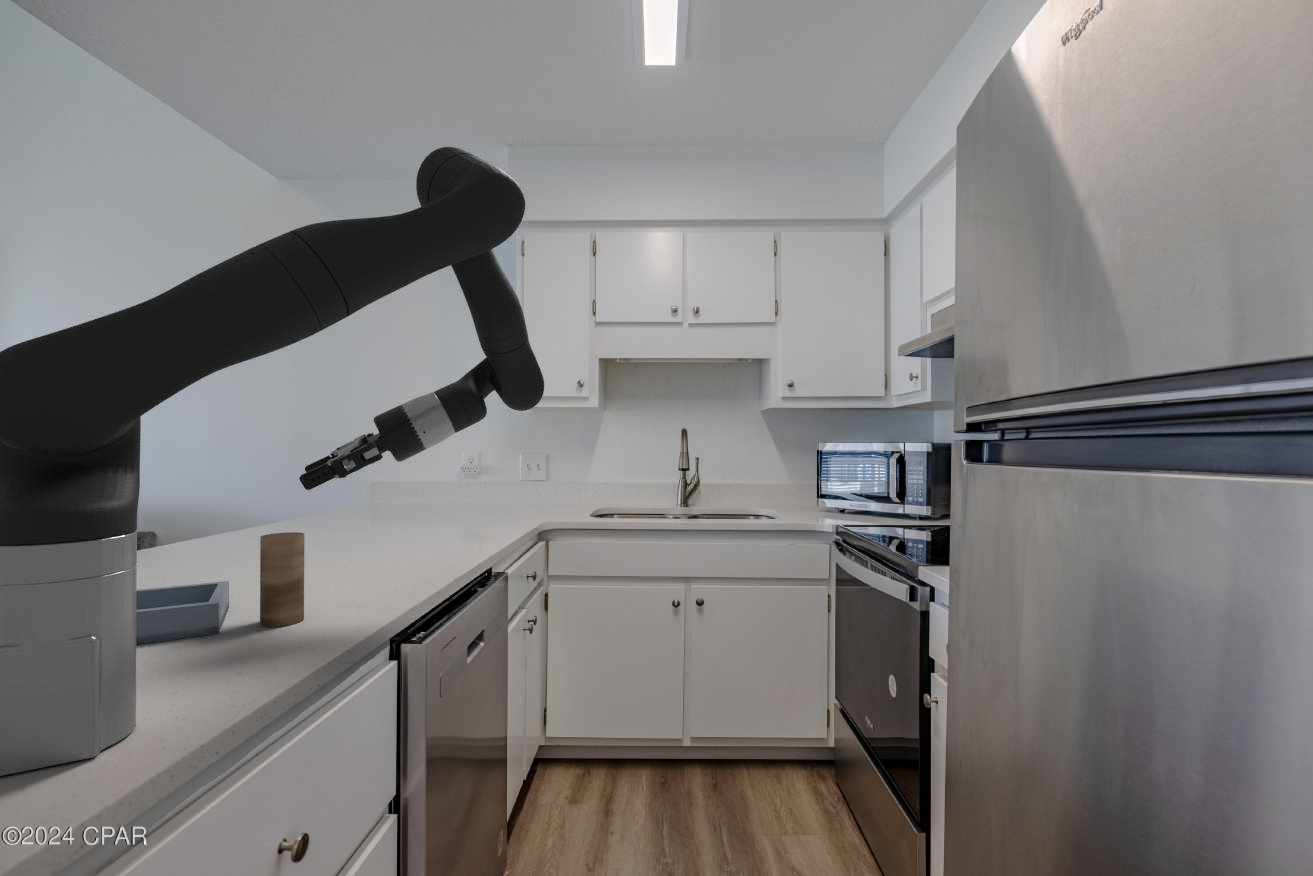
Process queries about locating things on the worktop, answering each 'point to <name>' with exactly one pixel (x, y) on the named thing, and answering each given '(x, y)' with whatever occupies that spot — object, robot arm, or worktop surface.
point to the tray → (180, 611)
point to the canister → (281, 579)
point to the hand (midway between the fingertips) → (305, 478)
